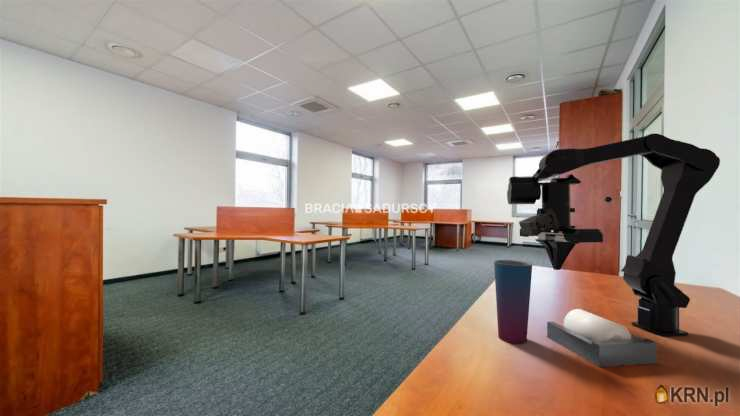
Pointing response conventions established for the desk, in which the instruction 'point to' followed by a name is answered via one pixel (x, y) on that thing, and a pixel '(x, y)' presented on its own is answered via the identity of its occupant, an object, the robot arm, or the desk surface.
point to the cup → (512, 299)
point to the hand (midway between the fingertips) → (556, 269)
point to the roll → (594, 326)
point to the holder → (605, 348)
